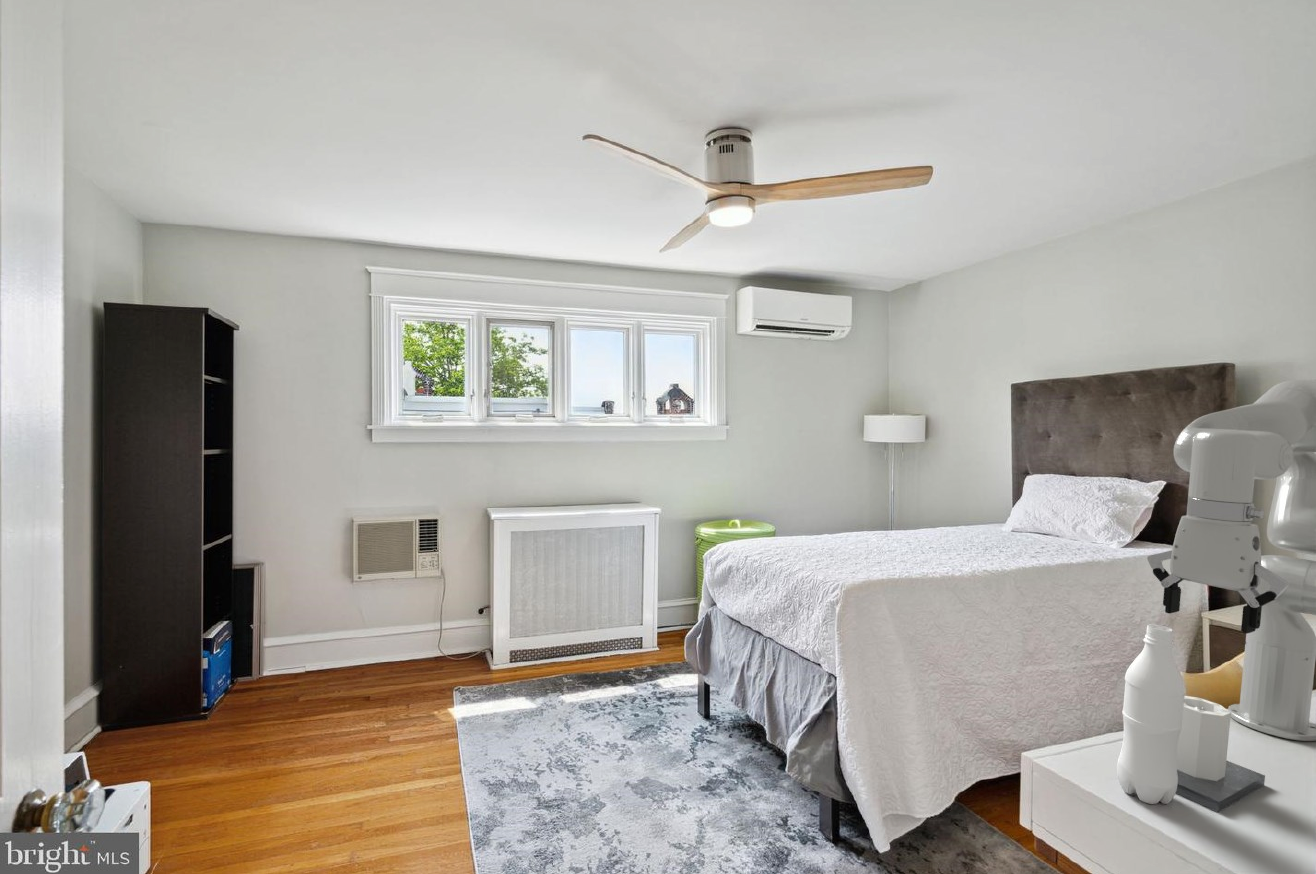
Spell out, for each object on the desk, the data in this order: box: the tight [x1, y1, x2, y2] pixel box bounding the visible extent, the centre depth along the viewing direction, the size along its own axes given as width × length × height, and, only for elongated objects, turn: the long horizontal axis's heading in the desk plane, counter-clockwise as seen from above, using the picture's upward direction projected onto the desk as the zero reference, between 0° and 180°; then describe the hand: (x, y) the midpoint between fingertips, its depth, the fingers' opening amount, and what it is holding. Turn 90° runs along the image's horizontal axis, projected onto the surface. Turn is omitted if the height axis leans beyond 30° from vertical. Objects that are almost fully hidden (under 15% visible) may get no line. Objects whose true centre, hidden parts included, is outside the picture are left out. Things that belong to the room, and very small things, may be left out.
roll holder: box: [1175, 706, 1266, 813], centre depth 103 cm, size 16×12×11 cm
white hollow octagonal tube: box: [1176, 695, 1232, 781], centre depth 103 cm, size 7×7×10 cm
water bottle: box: [1116, 623, 1187, 805], centre depth 97 cm, size 7×7×25 cm
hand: (1208, 621), depth 102 cm, fingers open, 9 cm apart
